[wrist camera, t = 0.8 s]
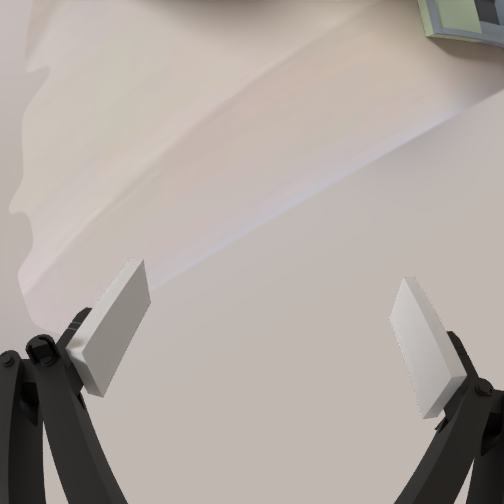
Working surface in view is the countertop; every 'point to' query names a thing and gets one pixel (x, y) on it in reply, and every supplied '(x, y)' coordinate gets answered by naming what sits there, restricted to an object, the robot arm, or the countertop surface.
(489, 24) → the blue gray tray
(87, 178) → the countertop surface
